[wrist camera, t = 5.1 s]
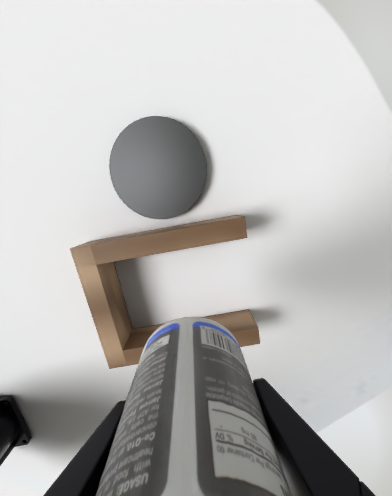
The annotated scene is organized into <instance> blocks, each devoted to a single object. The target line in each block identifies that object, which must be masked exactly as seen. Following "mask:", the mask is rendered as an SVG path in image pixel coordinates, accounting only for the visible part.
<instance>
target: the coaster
mask: <svg viewBox="0 0 392 496" xmlns="http://www.w3.org/2000/svg"><path fill="white" fill-rule="evenodd" d="M109 167H110V176H111V180H112V183H113V186H114V188H115V190H116V192H117V194H118V196H119V197H120V199H121V200H122V201H123V202H124V203H125V204H126V205H127V206H128V207H129V208H130V209H132V210H133V211H134V212H136V213H138V214H140V215H142V216H144V217H148V218H153V219H168V218H172V217H176V216H178V215H180V214H182V213H184V212H186V211H187V210H188V209H189V208H191V207H192V206H193V205H194V204H195V202H196V201H197V200H198V198H199V196H200V195H201V193H202V191H203V188H204V185H205V181H206V175H207V166H206V159H205V155H204V152H203V149H202V147H201V145H200V143H199V141H198V140H197V138H196V137H195V135H194V134H193V133H192V132H191V131H190V130H189V129H188V128H187V127H186V126H184V125H183V124H181V123H179V122H177V121H175V120H173V119H170V118H167V117H161V116H151V117H145V118H142V119H139V120H137V121H135V122H133V123H131V124H130V125H128V126H127V127H126V128H125V129H124V130H123V131H122V132H121V133H120V134H119V136H118V138H117V139H116V141H115V143H114V145H113V148H112V151H111V155H110V164H109Z"/></svg>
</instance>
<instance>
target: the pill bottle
mask: <svg viewBox="0 0 392 496" xmlns="http://www.w3.org/2000/svg"><path fill="white" fill-rule="evenodd" d="M96 496H292V495H291V492H290V489H289V486H288V483H287V480H286V477H285V475H284V472H283V469H282V466H281V463H280V460H279V457H278V454H277V452H276V449H275V445H274V442H273V440H272V437H271V435H270V432H269V429H268V426H267V423H266V420H265V417H264V414H263V411H262V408H261V405H260V402H259V399H258V397H257V394H256V391H255V388H254V385H253V383H252V380H251V377H250V374H249V371H248V369H247V365H246V363H245V360H244V357H243V354H242V351H241V349H240V346H239V344H238V342H237V340H236V339H235V337H234V336H233V334H232V333H231V332H230V331H229V330H228V329H227V328H225V327H224V326H223V325H221V324H219V323H218V322H216V321H213V320H211V319H206V318H201V317H184V318H179V319H175V320H172V321H170V322H167V323H165V324H164V325H162V326H160V327H159V328H158V329H157V330H156V331H155V332H154V333H153V334H152V335H151V336H150V338H149V339H148V341H147V342H146V345H145V347H144V349H143V352H142V355H141V358H140V361H139V364H138V367H137V370H136V373H135V376H134V379H133V382H132V385H131V388H130V391H129V394H128V396H127V399H126V403H125V406H124V410H123V413H122V415H121V419H120V422H119V425H118V428H117V431H116V434H115V438H114V441H113V443H112V447H111V450H110V453H109V456H108V460H107V463H106V466H105V469H104V471H103V474H102V477H101V480H100V484H99V487H98V490H97V493H96Z"/></svg>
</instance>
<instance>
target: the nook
mask: <svg viewBox="0 0 392 496" xmlns="http://www.w3.org/2000/svg"><path fill="white" fill-rule="evenodd" d="M243 238H247V231H246V223H245V217H242V216H238V215H233V216H228V217H222V218H217V219H211V220H206V221H200V222H195V223H189V224H183V225H178V226H172V227H167V228H161V229H156V230H150V231H145V232H139V233H134V234H128V235H123V236H117V237H111V238H106V239H100V240H95V241H90V242H87V243H84V244H81V245H79V246H76V247H73V248H71V249H70V251H71V254H72V257H73V260H74V263H75V266H76V269H77V272H78V275H79V278H80V281H81V284H82V287H83V290H84V293H85V296H86V299H87V302H88V305H89V308H90V311H91V314H92V317H93V320H94V323H95V326H96V329H97V332H98V335H99V338H100V341H101V344H102V347H103V350H104V353H105V356H106V360H107V363H108V366H109V369H111V368H117V367H123V366H129V365H135V364H139V361H140V358H141V355H142V352H143V349H144V347H145V345H146V342H147V341H148V339H149V338H150V336H151V335H152V334H153V333H154V332H155V331H156V330H157V329H158V328H159V327H160V326H162V325H164V324H161V325H155V326H149V327H143V328H137V329H132V326H131V322H130V319H129V315H128V312H127V308H126V305H125V301H124V297H123V294H122V290H121V287H120V283H119V280H118V276H117V273H116V269H115V266H114V261H120V260H125V259H131V258H137V257H142V256H148V255H153V254H159V253H165V252H170V251H176V250H182V249H187V248H193V247H198V246H204V245H210V244H215V243H221V242H227V241H232V240H238V239H243ZM202 318H206V319H211V320H213V321H216V322H218V323H219V324H221V325H223V326H224V327H225V328H227V329H228V330H229V331H230V332H231V333H232V334H233V336H234V337H235V339H236V340H237V342H238V344H239V346H240V347H243V346H249V345H255V344H260V339H259V330H258V327H257V325H256V323H255V321H254V319H253V317H252V315H251V313H250V311H249V310H243V311H237V312H231V313H225V314H219V315H213V316H208V317H202Z"/></svg>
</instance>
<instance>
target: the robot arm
mask: <svg viewBox="0 0 392 496" xmlns="http://www.w3.org/2000/svg"><path fill="white" fill-rule="evenodd" d="M253 385H254V388H255V391H256V394H257V397H258V399H259V402H260V405H261V408H262V411H263V414H264V417H265V420H266V423H267V426H268V429H269V432H270V435H271V437H272V440H273V442H274V445H275V449H276V452H277V454H278V457H279V460H280V463H281V466H282V469H283V472H284V475H285V477H286V480H287V483H288V486H289V489H290V492H291V495H292V496H375V495H374V494H373V492H371V490H370V489H369V488H368V487H367V486H366V485H365V484H364V483H363V482H361V481H359V478H358V477H357V476H356V475H355V474H354V473H353V472H352V471H351V469H350V468H349V467H348V466H347V465H346V464H345V463H344V462H343V461H342V460H341V459H340V458H339V457H338V456H337V455H336V454H335V453H334V452H333V450H332V449H331V448H330V447H329V446H328V445H327V444H326V443H325V442H324V441H323V440H322V439H321V438H320V437H319V436H318V435H317V434H316V433H315V432H314V430H313V429H312V428H311V427H310V426H309V425H308V424H307V423H306V422H305V421H304V420H303V419H302V418H301V417H300V416H299V415H298V414H297V413H296V412H295V410H294V409H293V408H292V407H291V406H290V405H289V404H288V403H287V402H286V401H285V400H284V399H283V398H282V397H281V396H280V395H279V394H278V393H277V392H276V390H275V389H274V388H273V387H272V386H271V385H270V384H269V383H268V382H267V381H266V380H265V379H263V378H260V379H254V380H253ZM125 403H126V401H120V402H118V403H117V404H116V405H115V406H114V408H113V409H112V410H111V411H110V413H109V414H108V415H107V416H106V418H105V419H104V420H103V421H102V423H101V424H100V425H99V427H98V428H97V429H96V430H95V432H94V433H93V434H92V435H91V437H90V438H89V439H88V440H87V442H86V443H85V444H84V445H83V447H82V448H81V449H80V450H79V452H78V453H77V454H76V455H75V457H74V458H73V459H72V460H71V462H70V463H69V464H68V465H67V467H66V468H65V469H64V470H63V472H62V473H61V474H60V476H59V477H58V478H57V479H56V481H55V482H54V483H53V484H52V486H51V487H50V488H49V489H48V491H47V492H46V493H45V494H44V496H96V493H97V490H98V487H99V484H100V480H101V477H102V474H103V471H104V469H105V466H106V463H107V460H108V456H109V453H110V450H111V447H112V443H113V441H114V438H115V434H116V431H117V428H118V425H119V422H120V419H121V415H122V413H123V410H124V406H125ZM31 439H32V437H31V435H30V433H29V430H28V428H27V426H26V424H25V422H24V420H23V418H22V416H21V414H20V412H19V410H18V408H17V405H16V403H15V401H14V399H13V398H12V397H10V396H6V397H0V466H1V464H2V463H3V462H4V460H5V459H6V458H7V456H8V455H9V453H10V452H11V451H12V449H13V448H14V447H15V446H22V445H27V444H28V443H29V442H30V441H31Z"/></svg>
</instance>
